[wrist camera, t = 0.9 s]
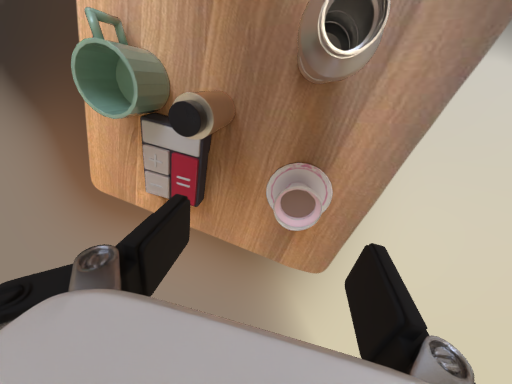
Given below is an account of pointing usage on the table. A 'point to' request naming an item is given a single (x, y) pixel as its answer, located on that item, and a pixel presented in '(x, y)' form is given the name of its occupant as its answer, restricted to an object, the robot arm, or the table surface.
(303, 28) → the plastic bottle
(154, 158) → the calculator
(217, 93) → the flask
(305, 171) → the teacup
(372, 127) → the table surface
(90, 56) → the mug
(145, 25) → the table surface
